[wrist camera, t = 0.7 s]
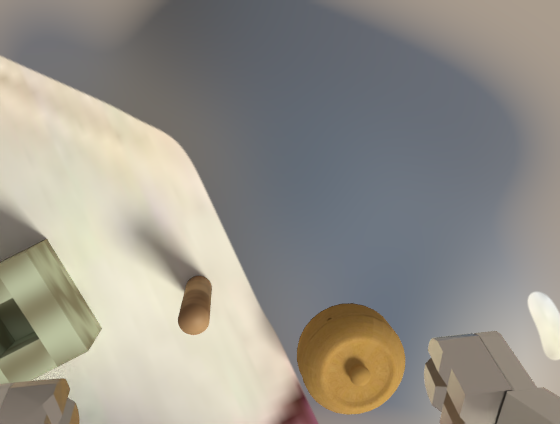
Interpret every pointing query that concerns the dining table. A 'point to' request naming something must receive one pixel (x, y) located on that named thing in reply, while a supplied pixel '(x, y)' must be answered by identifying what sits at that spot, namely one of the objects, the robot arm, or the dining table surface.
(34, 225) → the dining table surface
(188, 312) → the dowel
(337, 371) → the pot
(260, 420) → the dining table surface
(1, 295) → the socket block
